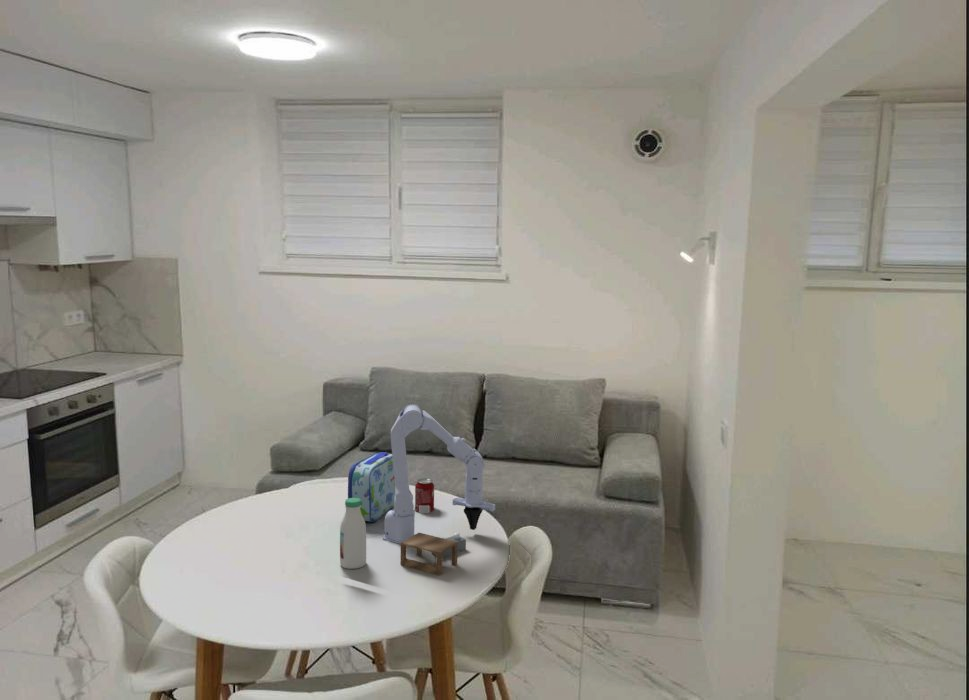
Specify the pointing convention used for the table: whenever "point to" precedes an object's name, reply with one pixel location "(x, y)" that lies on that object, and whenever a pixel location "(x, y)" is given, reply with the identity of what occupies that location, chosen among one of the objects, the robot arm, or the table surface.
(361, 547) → the milk bottle
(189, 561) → the table surface
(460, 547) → the grey rectangular block
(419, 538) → the wooden footstool
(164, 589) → the table surface
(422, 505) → the soda can
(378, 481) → the lunch box
